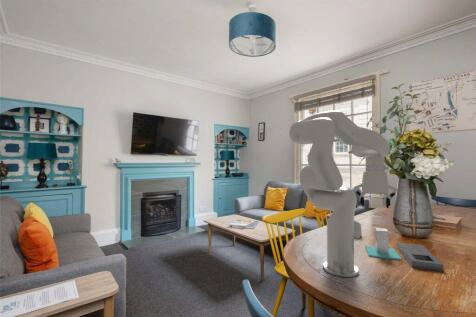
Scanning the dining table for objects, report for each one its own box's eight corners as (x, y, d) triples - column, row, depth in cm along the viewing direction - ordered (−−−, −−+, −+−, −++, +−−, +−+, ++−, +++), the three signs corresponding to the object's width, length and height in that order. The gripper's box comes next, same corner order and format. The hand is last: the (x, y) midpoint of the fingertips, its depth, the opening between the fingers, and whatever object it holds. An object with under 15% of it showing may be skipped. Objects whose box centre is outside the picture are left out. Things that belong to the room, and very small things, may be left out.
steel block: (388, 254, 105) (388, 231, 105) (377, 252, 106) (376, 230, 107) (386, 250, 109) (386, 228, 109) (375, 249, 111) (375, 227, 111)
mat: (401, 260, 100) (401, 258, 100) (368, 256, 104) (368, 254, 104) (394, 250, 111) (394, 248, 111) (365, 246, 116) (365, 245, 116)
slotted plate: (443, 271, 90) (443, 264, 90) (411, 267, 94) (411, 260, 94) (422, 250, 111) (422, 245, 111) (397, 247, 114) (397, 242, 114)
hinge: (328, 233, 137) (329, 215, 140) (330, 234, 141) (331, 216, 144) (360, 238, 127) (361, 219, 130) (361, 239, 131) (362, 221, 134)
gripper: (395, 168, 109) (395, 206, 108) (353, 168, 115) (353, 203, 115) (399, 169, 102) (399, 209, 101) (354, 168, 108) (354, 206, 108)
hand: (374, 206), depth 108 cm, fingers open, 9 cm apart
